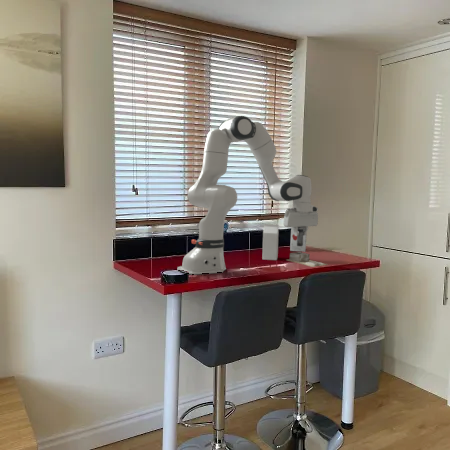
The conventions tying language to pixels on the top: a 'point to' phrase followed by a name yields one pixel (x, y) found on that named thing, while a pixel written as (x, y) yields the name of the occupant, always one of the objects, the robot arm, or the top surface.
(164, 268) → the top surface
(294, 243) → the supplement box
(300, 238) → the pin
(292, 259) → the eye block
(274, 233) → the milk carton
